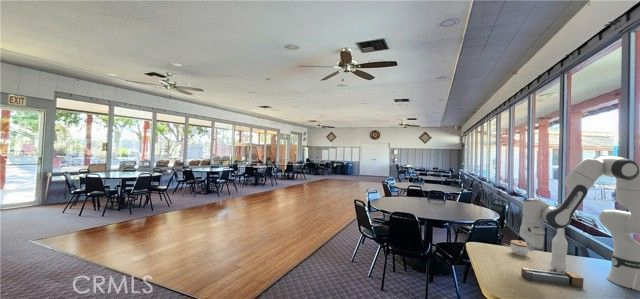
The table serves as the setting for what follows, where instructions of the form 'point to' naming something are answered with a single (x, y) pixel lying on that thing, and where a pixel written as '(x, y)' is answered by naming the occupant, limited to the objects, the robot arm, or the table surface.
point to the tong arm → (542, 272)
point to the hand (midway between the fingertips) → (529, 250)
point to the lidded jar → (519, 247)
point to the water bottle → (559, 251)
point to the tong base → (556, 278)
